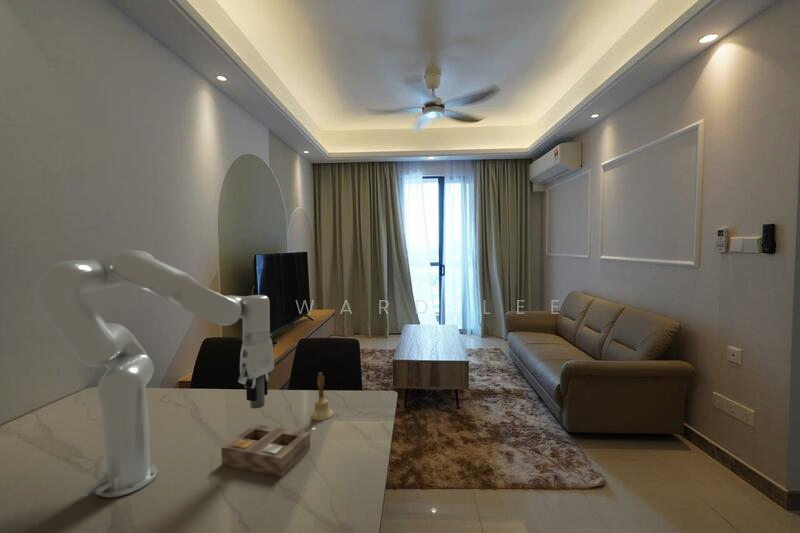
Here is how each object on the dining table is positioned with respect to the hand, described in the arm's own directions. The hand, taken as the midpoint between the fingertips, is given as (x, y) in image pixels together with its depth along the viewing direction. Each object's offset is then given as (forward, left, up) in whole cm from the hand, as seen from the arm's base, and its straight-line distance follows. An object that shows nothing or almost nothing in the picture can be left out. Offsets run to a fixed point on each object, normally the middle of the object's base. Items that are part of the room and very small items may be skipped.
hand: (257, 396), depth 104 cm
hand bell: (+27, -6, -17) cm, 32 cm away
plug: (0, 0, -3) cm, 3 cm away
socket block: (-1, -4, -17) cm, 17 cm away
